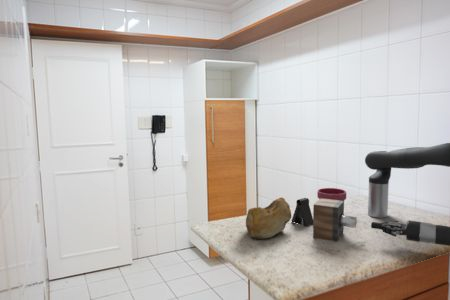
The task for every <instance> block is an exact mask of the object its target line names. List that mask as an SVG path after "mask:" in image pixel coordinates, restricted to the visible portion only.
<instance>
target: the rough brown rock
mask: <svg viewBox="0 0 450 300" xmlns="http://www.w3.org/2000/svg"><path fill="white" fill-rule="evenodd" d="M291 220H292V211H291V208H290V204H289V203H288V202H287V201H286V199H285V198H284V197H279V198H276V199H274V200H273V201H272V202H271V203H270V204H269V205H268V206H265V207H261V206H257V207H252V208H249V209H248V211H247V215H246V218H245V227H246V230H247V233H248V235H249V236H250V238H255V239H258V238H259V240H262V239H269V238H272V237H274V236H275V235H276V234H280V232H283V231H284V230H285V228H286V225H287V223H289V222H290V221H291Z"/></svg>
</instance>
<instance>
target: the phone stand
mask: <svg viewBox="0 0 450 300" xmlns="http://www.w3.org/2000/svg"><path fill="white" fill-rule="evenodd" d="M291 221H292V222H295V223H294V224H296V223H298V224H297V225H299V224H300V226H302V225H303V226H302V227H309V226H311V225H313V213H312V211H311V208H310V199H309V198H308V197H303V198H299V199H297V200H296V206H295V209H294V213H293V215H292V217H291ZM292 222H291V223H292Z"/></svg>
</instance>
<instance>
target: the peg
mask: <svg viewBox="0 0 450 300" xmlns="http://www.w3.org/2000/svg"><path fill="white" fill-rule="evenodd" d="M357 221H358V219H357V216H350V215H345V214H344V215H340V220H339V225H340V226H343V227H347V228H352V229H353V228H355V229H356V228H357V225H358V222H357Z"/></svg>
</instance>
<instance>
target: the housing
mask: <svg viewBox="0 0 450 300" xmlns="http://www.w3.org/2000/svg"><path fill="white" fill-rule="evenodd" d="M312 208H313V211H312V212H313V213H312V217H313V224H312V225H313V226H312V228H313V229H312V238H313V239H319V240H324V241H330V242H335V243H339V240H340V238H342V236H343V235H344V226H340V225H339V220H340V215H344V216H345V200H344V201H340V200H331V199H322V198H321V199H320V200H319V199H318V200H317V201H316V202H315V203H314V204H313V207H312Z"/></svg>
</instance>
